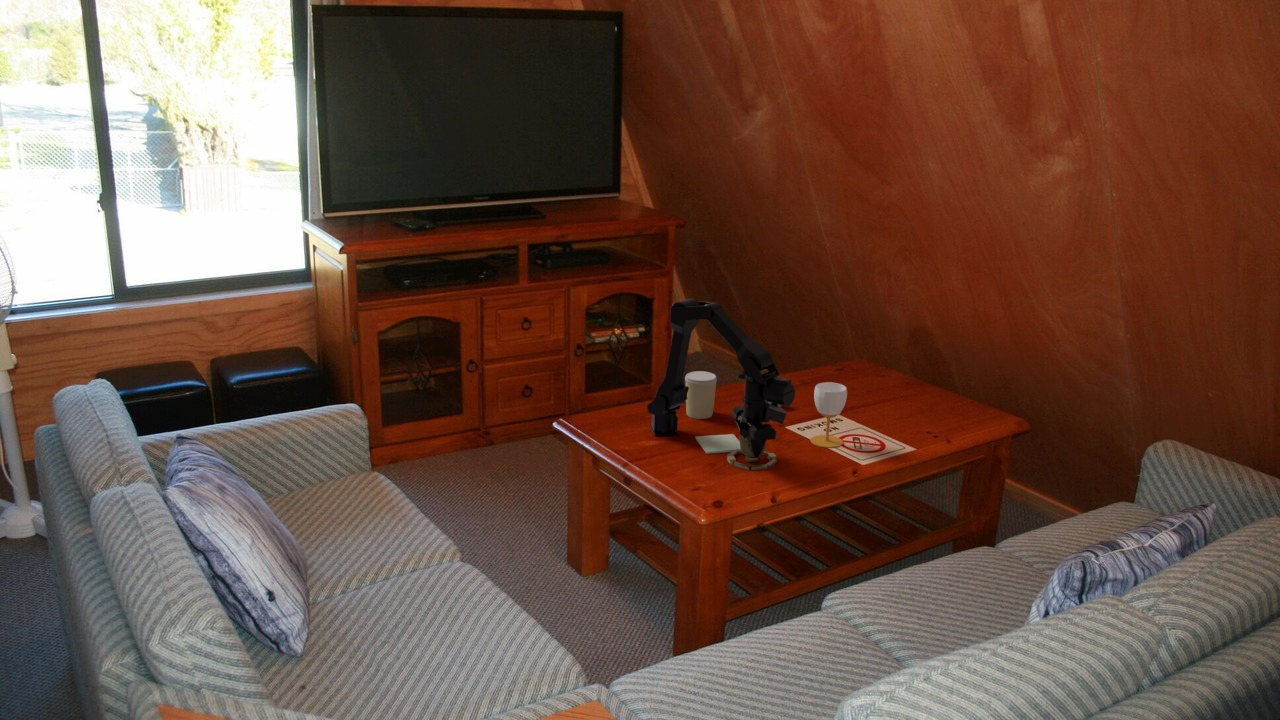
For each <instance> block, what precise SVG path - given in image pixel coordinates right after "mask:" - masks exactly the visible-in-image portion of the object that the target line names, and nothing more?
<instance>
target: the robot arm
mask: <svg viewBox="0 0 1280 720" xmlns="http://www.w3.org/2000/svg"><path fill="white" fill-rule="evenodd" d="M669 313H670V314H669V316H670V317H669V322H670V325H671V328H672V337H671V342H670V348H669V353H668V359H667V360H668V361H667V365H666V369H665V376H664V379H663V380H661V381H662V382H661V383H660V385H658V387H657V390H656V393H655V397H654V399H653V400H652V401H651V402H649V403H648V404H647V406H646V409H647V412H648V414H651V426H649V428H650V431H651V432H652V434H653V435H654V436H655V437H659V436H660V437H663V436H664V437H665V436H675V435H676V436H678V432H677V431H678V430H679V429H678V428H679V427H678V426H679V423H678V422H679V417H678V415H677V411H678V410H680V409H681V408H682V405H684V404H685V403H686V400H687V393H688V390H689V387H688V386H686V384H685V382H684V374H685V369H686V363H687V358H688V353H689V347H690V342H691V336H692V333H693V331H694V329H695V328H696V326H697V325H698V324H699V321H700V320H706V321H708V323H709V324H710V325H711V326H712V327H713V328H714V330H716V332H717V333H718V334H719V335H720V336H721V337H722V338H723V339H724V340H725V341H726V343H727V344H728V345H729V346H730V347H731V349H733V350H734V352H735V354H736V358H737V361H738V363H739V364H740V367H741V368H742V370H743V371H742V372H741V373H740V374H739V375H738V376H737V377H738V378H739V379H742V380H744V395H743V396H744V397H743V398H742V397H741V403H742V404H743V405H736V406H734V407H733V408H732V410H731V411H732V415H731V416H732V418H733V419H734V422H735V424H736V427H737V428H738V431H739V432H740V430H742V429H744V430H745V431H746V430H747V431H748V429H749V428H750V427H751V428H750V430H749V433H750V434H748V438H749V441H750V445H751V448H752V452H753V455H754V458H759V459H760V456H761V455H760V453H761V451H762V448H763V446H764V443H765V442H766V443H767V441H769V440H776V439H777V434H778V433H777V432H778V431H777V430H776V429H775V428H774V427H773V426H772V425H771V424H770V421H772V422H776V423H778V424H780V425H784V422H785V420H786V418H787V416H788V412H787V411H786V410H785V409H784V408H782V406H784V407H790V406H791V405H792V404H793V402H794V400H795V398H796V397H795V396H796V388H795V386H794V385H793V384H792V379H789V378H783V377H780V371H779V370H778V367H777V366H776V364H775V362H774V360H773V356H772V353H771V352H770V351H769V350H768V349H767V348H765V346H762V344H760V343H758V342H757V341H754V340H752V339H750V338H749V336H748V335H746V333H745V332H744V331H743V330H742V329H741V328H740V327H739V326H738V325H737V324H736V322H735V321H734V320H733V319H732V318H731V317H730V316H729V315H728V314H727V313H726V311H724V309H723V307H722V305H721V304H720V303H718V302H709V301H698V300H697V299H695V298H687V299H683V300H680V301H677V302H675V303H674V304H672V305H671V306H670V312H669ZM764 371H766V372H764ZM762 372H764V373H762ZM766 400H767V401H768V402H767V401H766ZM778 404H780V405H782V406H781V407H778Z"/></svg>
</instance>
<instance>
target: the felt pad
mask: <svg viewBox="0 0 1280 720" xmlns="http://www.w3.org/2000/svg"><path fill="white" fill-rule="evenodd" d="M695 440H696V442H697V443H698V444H699V446H700V447H701V448H702V449H703V451H704V452H705V453H706V454H721V453H722V454H724V453H731V452H732V451H734V450H737V449H741V448H740V439H738V438H737V437H736V435H735V434H733V433H729V434H717V435H715V434H714V435H700V436H695Z"/></svg>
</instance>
